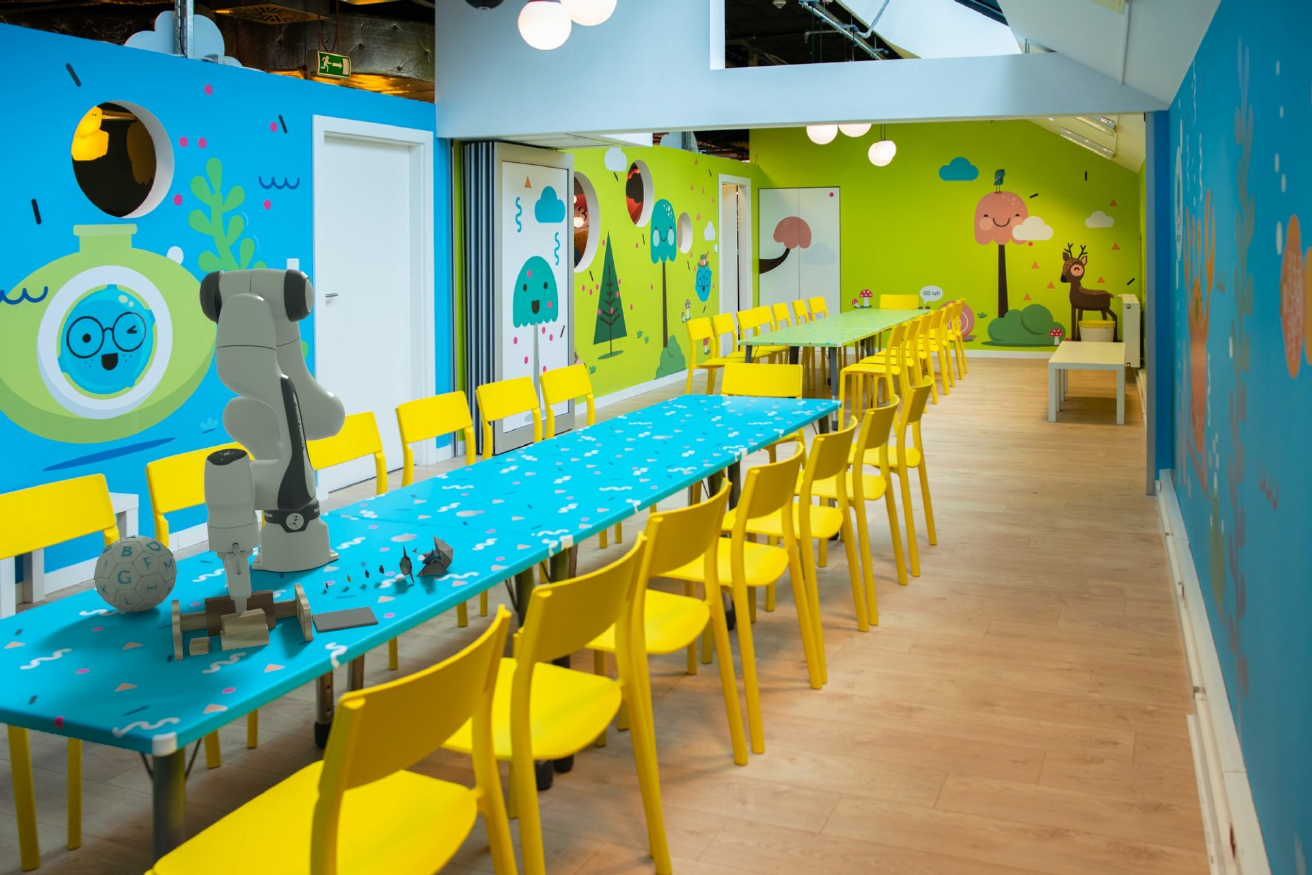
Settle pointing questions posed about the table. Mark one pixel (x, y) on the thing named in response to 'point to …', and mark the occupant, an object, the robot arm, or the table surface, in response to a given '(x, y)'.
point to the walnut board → (227, 606)
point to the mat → (344, 619)
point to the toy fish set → (407, 565)
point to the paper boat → (436, 567)
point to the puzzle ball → (135, 573)
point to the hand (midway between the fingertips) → (240, 609)
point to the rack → (282, 609)
